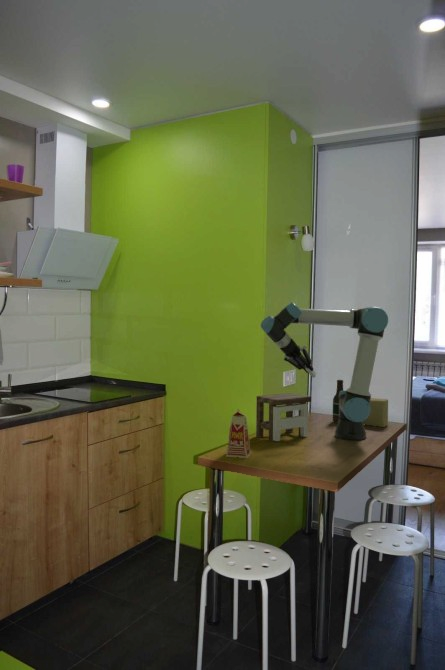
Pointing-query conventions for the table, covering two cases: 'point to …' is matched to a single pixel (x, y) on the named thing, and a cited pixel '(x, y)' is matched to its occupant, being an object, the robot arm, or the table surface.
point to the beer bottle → (337, 401)
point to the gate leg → (290, 419)
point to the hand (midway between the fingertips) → (314, 375)
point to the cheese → (378, 413)
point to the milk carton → (238, 437)
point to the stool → (272, 401)
